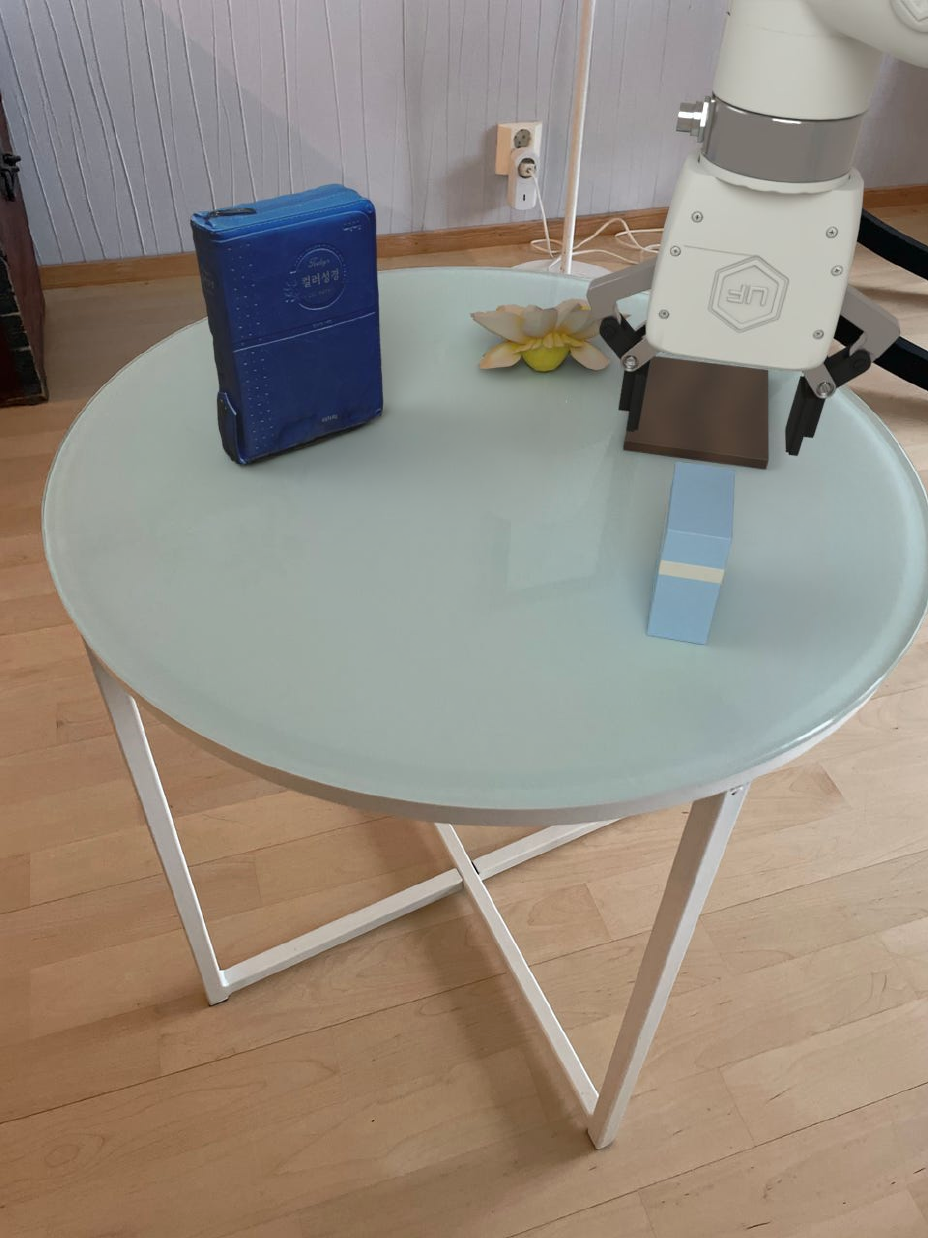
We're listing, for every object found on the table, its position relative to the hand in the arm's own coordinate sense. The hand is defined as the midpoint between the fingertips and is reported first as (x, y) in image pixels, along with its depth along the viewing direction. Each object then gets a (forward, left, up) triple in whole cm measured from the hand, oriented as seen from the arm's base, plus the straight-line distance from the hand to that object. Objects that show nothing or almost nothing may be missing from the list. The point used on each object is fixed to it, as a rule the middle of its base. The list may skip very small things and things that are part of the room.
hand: (711, 431), depth 62 cm
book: (+33, -14, -14) cm, 38 cm away
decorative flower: (+15, -33, -14) cm, 39 cm away
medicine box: (0, 0, -14) cm, 14 cm away
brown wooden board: (0, -27, -14) cm, 30 cm away
